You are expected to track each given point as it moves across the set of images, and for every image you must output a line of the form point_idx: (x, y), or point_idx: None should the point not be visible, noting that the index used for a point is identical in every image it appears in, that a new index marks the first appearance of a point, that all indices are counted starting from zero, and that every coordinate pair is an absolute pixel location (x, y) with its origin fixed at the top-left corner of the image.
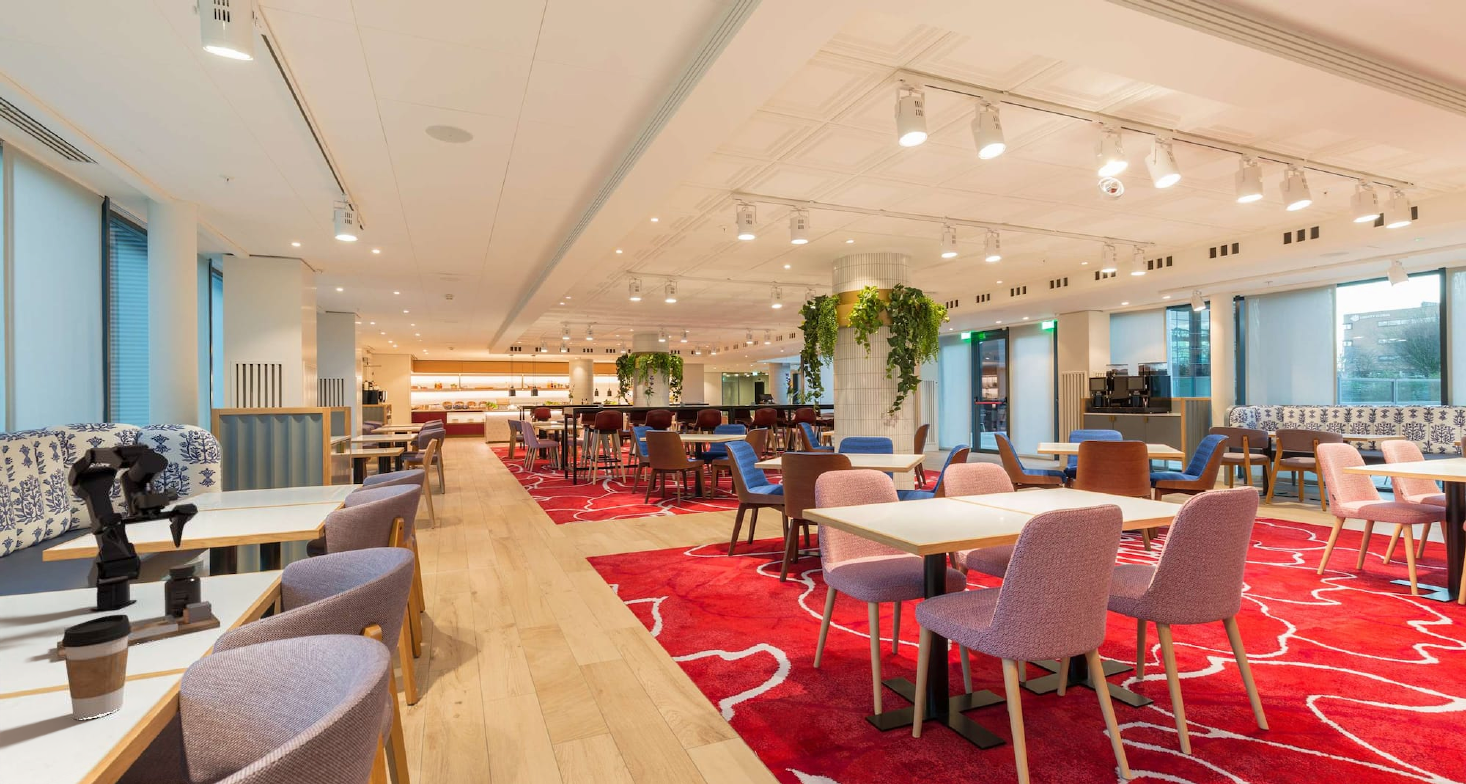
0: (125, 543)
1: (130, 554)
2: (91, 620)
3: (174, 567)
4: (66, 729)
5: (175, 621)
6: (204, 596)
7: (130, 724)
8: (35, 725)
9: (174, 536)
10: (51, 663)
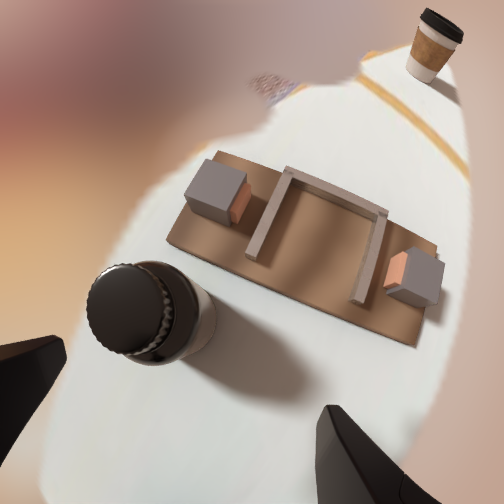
0: (382, 459)
1: (332, 406)
2: (450, 26)
3: (141, 329)
4: None
5: (278, 184)
6: (74, 420)
7: (404, 49)
8: (449, 96)
9: (14, 403)
10: (438, 250)
